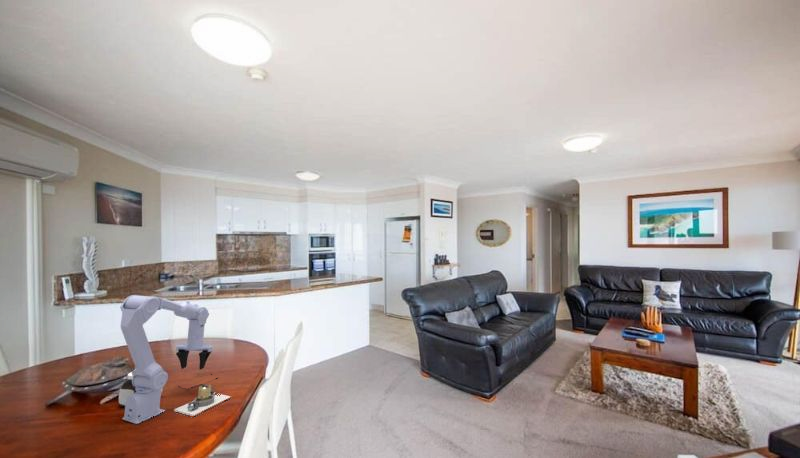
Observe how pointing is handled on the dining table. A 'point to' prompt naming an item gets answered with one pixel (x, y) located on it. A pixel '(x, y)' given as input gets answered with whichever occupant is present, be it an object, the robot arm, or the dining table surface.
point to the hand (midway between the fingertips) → (192, 368)
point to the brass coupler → (204, 393)
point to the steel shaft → (193, 405)
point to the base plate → (192, 413)
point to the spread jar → (127, 390)
